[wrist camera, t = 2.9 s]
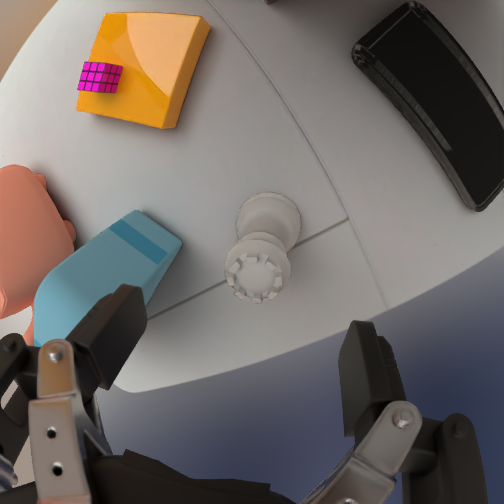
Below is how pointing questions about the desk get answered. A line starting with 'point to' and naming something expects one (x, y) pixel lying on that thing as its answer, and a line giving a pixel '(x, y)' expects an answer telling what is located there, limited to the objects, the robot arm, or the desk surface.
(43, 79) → the desk surface
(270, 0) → the wooden panel
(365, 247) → the desk surface
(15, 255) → the teapot
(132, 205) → the desk surface
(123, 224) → the data package
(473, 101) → the phone
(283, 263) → the rook chess piece
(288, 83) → the desk surface
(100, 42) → the orange square tile
